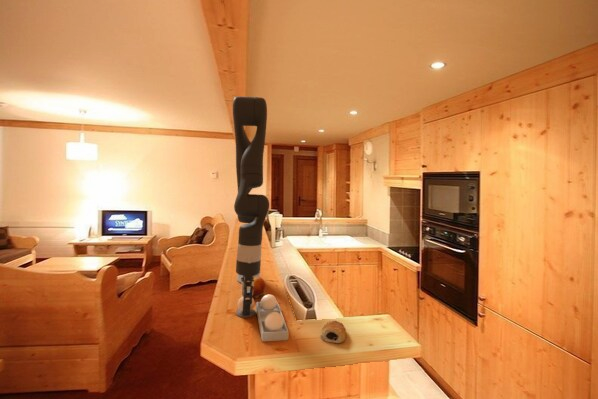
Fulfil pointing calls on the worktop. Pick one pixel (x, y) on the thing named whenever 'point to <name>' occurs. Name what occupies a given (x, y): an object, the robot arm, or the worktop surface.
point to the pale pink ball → (240, 304)
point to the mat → (246, 315)
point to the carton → (264, 332)
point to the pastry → (333, 332)
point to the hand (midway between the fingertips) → (245, 310)
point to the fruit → (258, 287)
